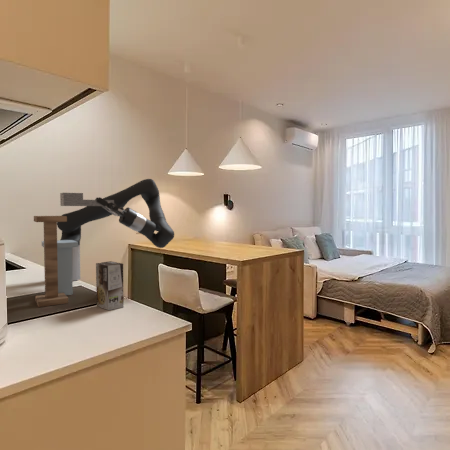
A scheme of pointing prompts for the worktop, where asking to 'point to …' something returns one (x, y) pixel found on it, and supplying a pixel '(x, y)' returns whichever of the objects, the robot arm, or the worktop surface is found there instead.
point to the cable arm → (77, 200)
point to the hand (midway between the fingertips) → (96, 199)
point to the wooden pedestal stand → (50, 262)
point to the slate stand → (65, 265)
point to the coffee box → (109, 285)
